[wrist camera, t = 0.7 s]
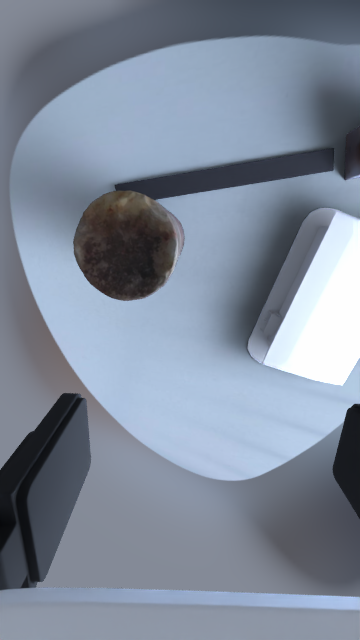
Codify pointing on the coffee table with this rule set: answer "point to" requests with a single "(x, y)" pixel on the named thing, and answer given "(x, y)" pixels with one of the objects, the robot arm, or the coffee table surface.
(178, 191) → the strip
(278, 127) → the coffee table surface
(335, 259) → the white flat lidded device
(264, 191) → the coffee table surface
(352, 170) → the walnut block
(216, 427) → the coffee table surface
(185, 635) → the robot arm
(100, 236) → the brown weathered cylinder
